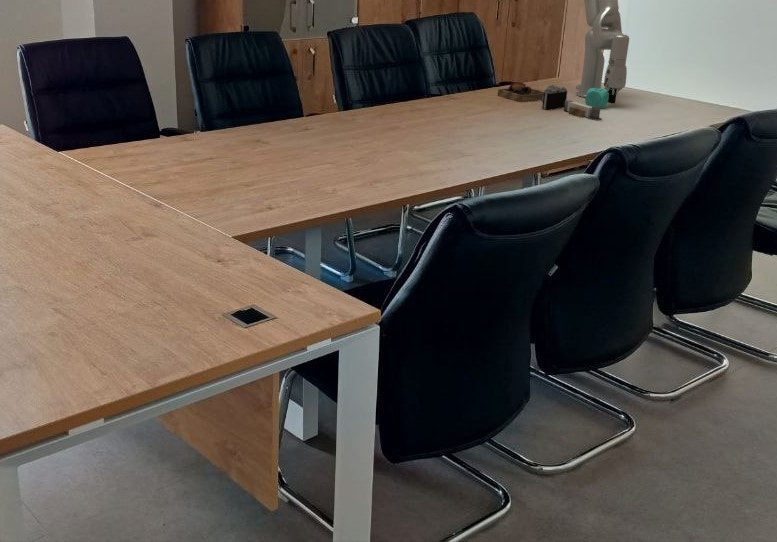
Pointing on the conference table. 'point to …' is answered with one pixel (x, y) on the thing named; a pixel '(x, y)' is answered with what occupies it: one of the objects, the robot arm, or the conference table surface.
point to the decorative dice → (597, 97)
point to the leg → (579, 106)
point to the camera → (554, 97)
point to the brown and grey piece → (579, 112)
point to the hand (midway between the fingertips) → (611, 102)
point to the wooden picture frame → (533, 96)
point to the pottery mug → (519, 88)
